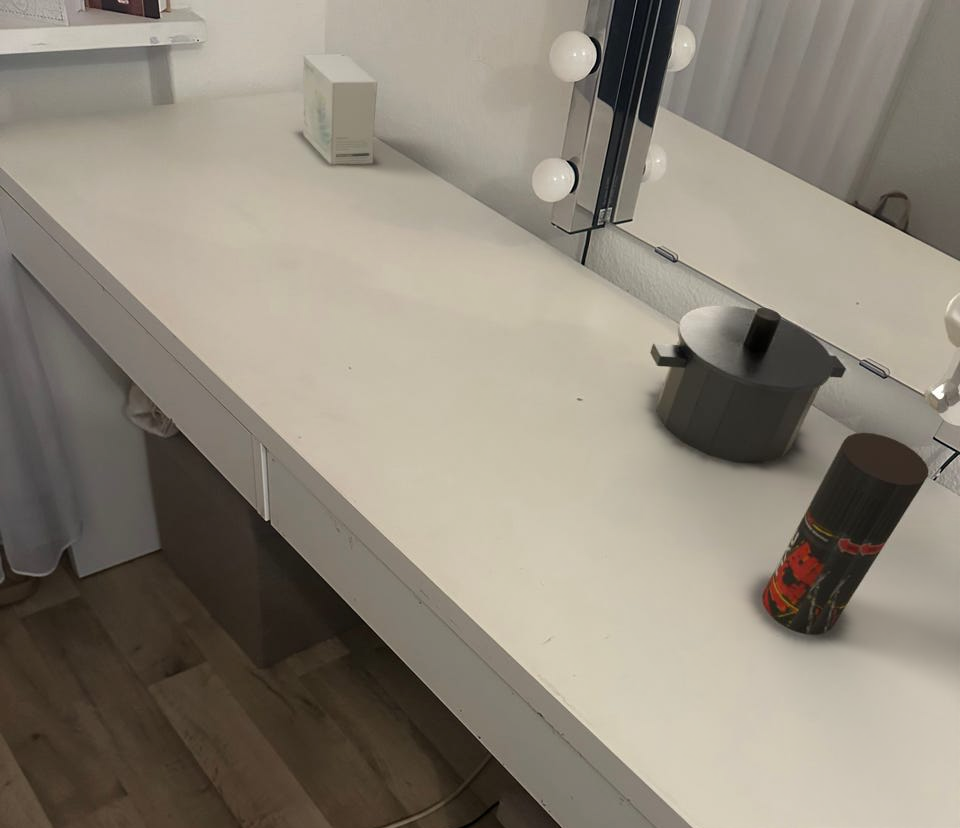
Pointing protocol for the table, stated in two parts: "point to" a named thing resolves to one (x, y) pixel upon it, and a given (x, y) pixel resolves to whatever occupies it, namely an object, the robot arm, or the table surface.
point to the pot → (728, 410)
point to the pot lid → (755, 348)
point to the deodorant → (843, 531)
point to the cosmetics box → (339, 108)
